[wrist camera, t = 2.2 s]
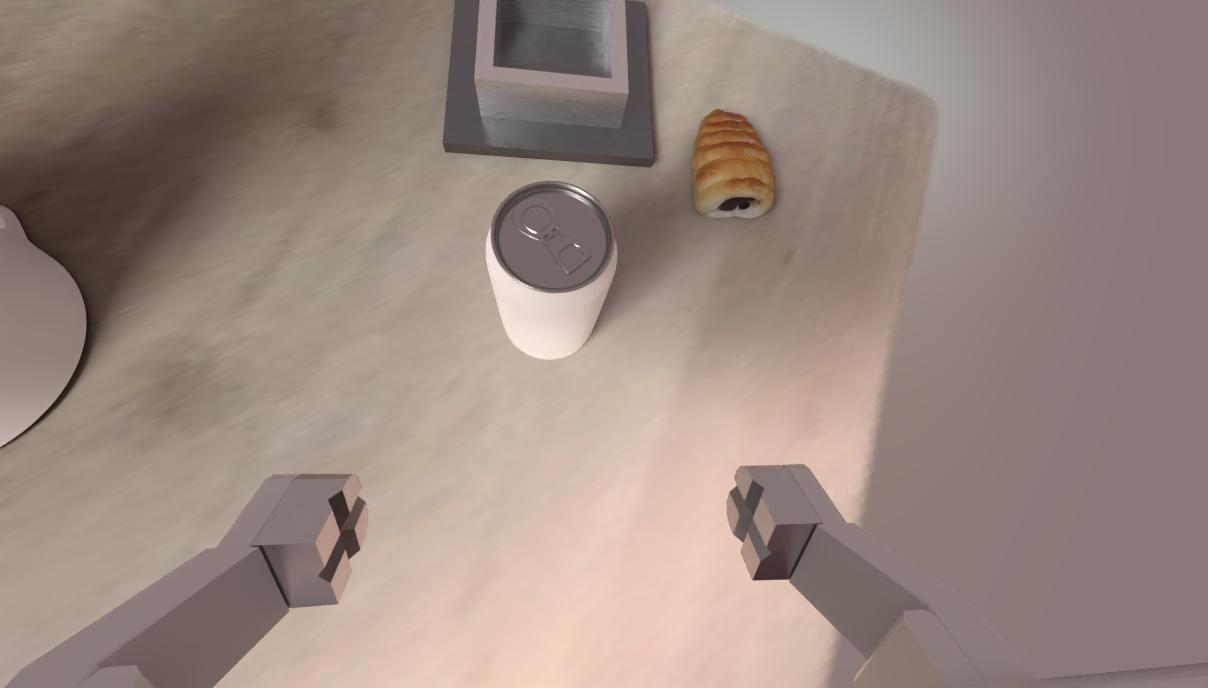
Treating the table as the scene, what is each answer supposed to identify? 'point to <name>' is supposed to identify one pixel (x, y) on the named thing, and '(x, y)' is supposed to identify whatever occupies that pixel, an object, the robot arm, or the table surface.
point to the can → (550, 266)
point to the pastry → (730, 169)
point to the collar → (550, 81)
